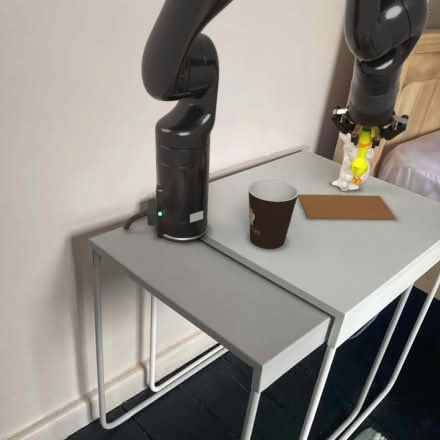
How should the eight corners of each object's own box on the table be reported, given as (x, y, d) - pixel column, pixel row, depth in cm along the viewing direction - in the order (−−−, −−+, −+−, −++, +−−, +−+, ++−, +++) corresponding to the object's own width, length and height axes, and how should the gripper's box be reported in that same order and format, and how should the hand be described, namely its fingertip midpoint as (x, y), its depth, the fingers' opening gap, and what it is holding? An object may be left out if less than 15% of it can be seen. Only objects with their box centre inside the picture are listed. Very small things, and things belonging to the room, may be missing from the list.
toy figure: (352, 174, 103) (364, 116, 96) (369, 178, 102) (383, 119, 95) (343, 185, 98) (355, 125, 91) (360, 189, 97) (374, 128, 90)
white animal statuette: (322, 185, 113) (332, 132, 106) (340, 177, 116) (350, 126, 109) (354, 198, 108) (366, 144, 101) (371, 190, 112) (384, 137, 105)
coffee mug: (288, 255, 88) (296, 204, 82) (240, 248, 89) (244, 197, 83) (293, 224, 97) (301, 176, 91) (250, 218, 98) (254, 171, 92)
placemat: (307, 218, 99) (308, 216, 99) (298, 196, 107) (298, 194, 107) (394, 219, 101) (395, 217, 100) (378, 197, 109) (379, 195, 108)
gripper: (325, 107, 82) (325, 154, 99) (413, 119, 79) (397, 166, 95) (335, 67, 83) (334, 120, 100) (423, 77, 80) (406, 130, 96)
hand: (365, 142), depth 97 cm, fingers closed on toy figure, 3 cm apart
